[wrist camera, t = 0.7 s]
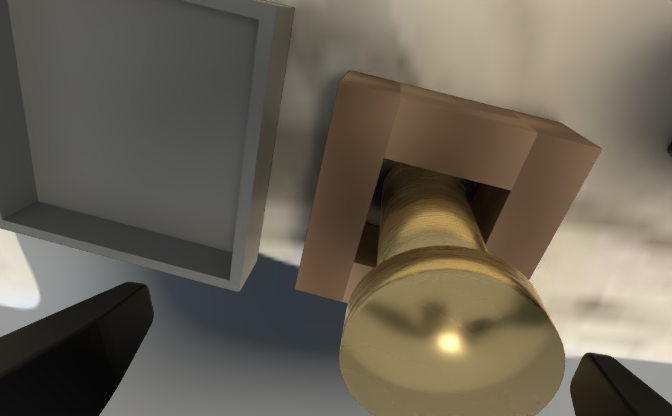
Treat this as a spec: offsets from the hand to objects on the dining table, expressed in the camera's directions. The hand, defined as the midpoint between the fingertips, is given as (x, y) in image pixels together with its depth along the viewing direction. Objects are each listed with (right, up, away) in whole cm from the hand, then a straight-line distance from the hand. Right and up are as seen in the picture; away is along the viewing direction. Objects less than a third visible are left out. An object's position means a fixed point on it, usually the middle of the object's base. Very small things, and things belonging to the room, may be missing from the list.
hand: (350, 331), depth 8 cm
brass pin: (+4, +3, +12) cm, 13 cm away
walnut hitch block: (+4, +3, +12) cm, 13 cm away
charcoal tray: (-10, +7, +13) cm, 18 cm away
